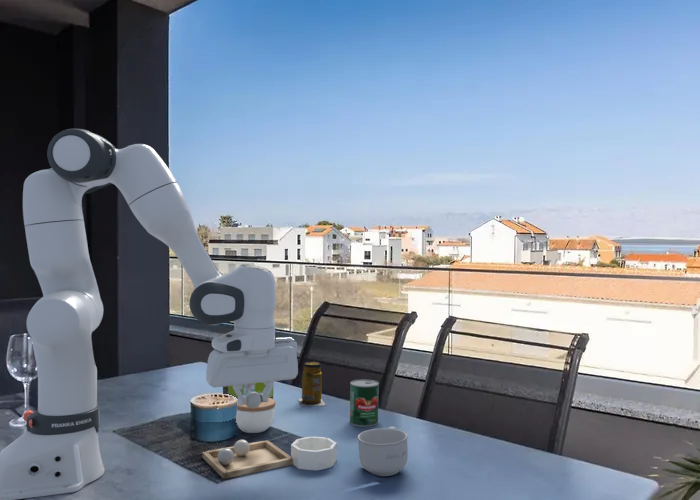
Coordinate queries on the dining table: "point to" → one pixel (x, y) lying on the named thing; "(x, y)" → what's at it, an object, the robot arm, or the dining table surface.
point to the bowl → (314, 453)
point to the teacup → (383, 450)
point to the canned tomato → (364, 402)
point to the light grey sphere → (253, 399)
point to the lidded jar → (255, 417)
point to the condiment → (311, 385)
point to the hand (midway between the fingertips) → (252, 403)
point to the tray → (249, 460)
